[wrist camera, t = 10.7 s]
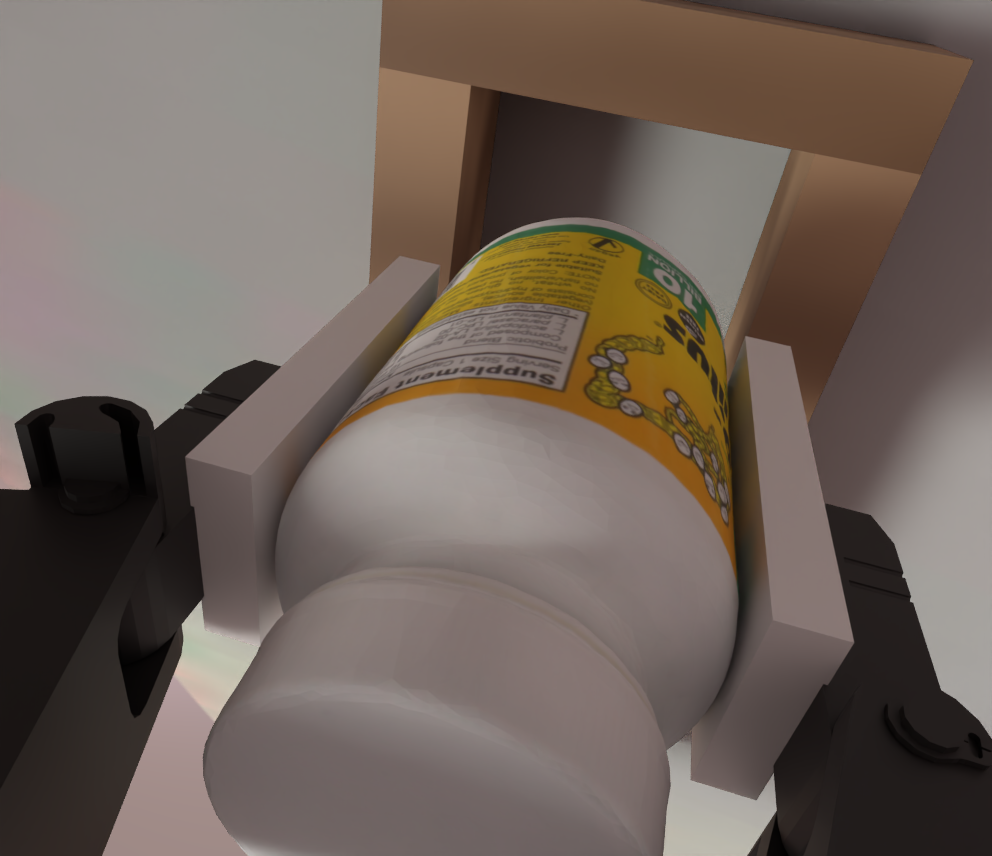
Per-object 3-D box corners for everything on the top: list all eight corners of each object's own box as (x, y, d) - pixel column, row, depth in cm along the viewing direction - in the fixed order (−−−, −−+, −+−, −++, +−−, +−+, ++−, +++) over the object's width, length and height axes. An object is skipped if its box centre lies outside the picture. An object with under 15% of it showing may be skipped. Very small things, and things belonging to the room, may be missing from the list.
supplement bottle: (412, 235, 14) (1, 607, 6) (714, 185, 12) (724, 613, 4) (479, 476, 16) (260, 966, 8) (737, 463, 14) (770, 1063, 7)
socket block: (432, -45, 17) (384, -46, 14) (931, 44, 15) (974, 60, 13) (387, 537, 27) (354, 595, 24) (687, 622, 25) (685, 692, 23)
